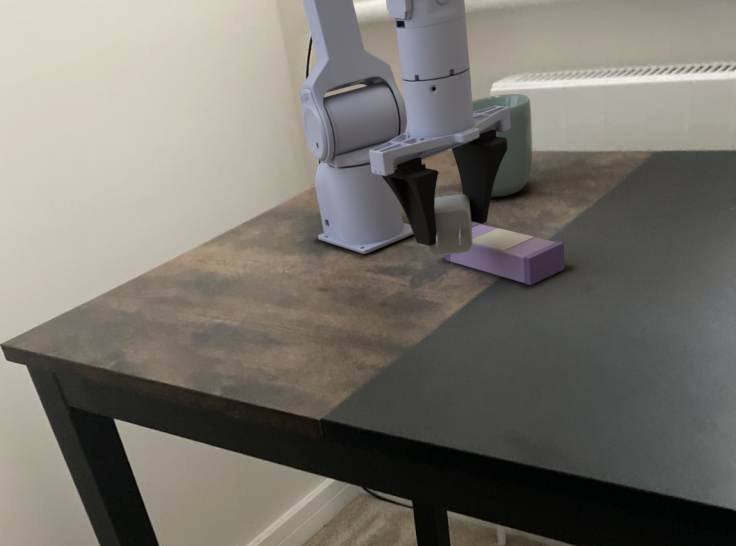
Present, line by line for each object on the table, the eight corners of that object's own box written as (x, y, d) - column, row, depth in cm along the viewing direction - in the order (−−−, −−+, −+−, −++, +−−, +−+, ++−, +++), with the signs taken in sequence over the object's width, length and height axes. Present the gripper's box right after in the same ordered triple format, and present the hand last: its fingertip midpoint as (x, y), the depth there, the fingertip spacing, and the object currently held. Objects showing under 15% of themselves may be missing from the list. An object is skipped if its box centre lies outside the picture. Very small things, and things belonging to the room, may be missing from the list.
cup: (539, 196, 103) (535, 104, 98) (471, 207, 104) (464, 116, 98) (529, 177, 110) (525, 90, 104) (466, 188, 110) (458, 101, 105)
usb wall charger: (472, 235, 85) (468, 193, 83) (473, 262, 80) (469, 217, 77) (430, 240, 86) (426, 198, 84) (428, 267, 80) (423, 223, 78)
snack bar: (445, 260, 92) (442, 235, 90) (477, 246, 94) (475, 221, 92) (530, 285, 83) (529, 258, 81) (564, 269, 85) (564, 242, 83)
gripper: (397, 98, 69) (418, 266, 77) (532, 53, 75) (538, 214, 83) (345, 93, 74) (370, 251, 82) (475, 51, 80) (486, 203, 88)
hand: (451, 232), depth 83 cm, fingers closed on usb wall charger, 6 cm apart
